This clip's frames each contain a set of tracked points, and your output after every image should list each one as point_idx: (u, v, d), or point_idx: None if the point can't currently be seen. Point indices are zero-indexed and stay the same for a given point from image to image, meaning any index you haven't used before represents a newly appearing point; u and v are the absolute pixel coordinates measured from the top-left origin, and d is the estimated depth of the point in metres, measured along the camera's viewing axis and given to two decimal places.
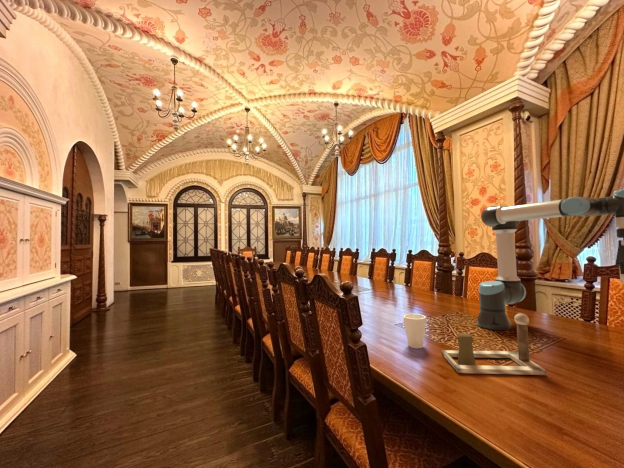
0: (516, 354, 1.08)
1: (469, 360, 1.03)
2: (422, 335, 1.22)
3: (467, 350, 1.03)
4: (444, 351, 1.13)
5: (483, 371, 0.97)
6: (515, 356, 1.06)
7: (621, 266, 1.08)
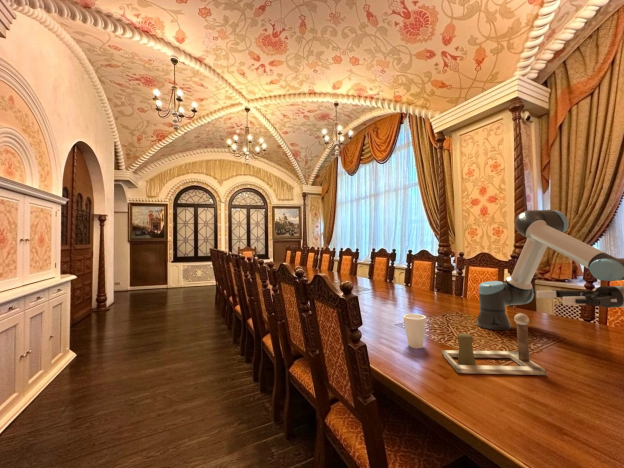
0: (516, 354, 1.08)
1: (469, 360, 1.03)
2: (422, 335, 1.22)
3: (467, 350, 1.03)
4: (444, 351, 1.13)
5: (483, 371, 0.97)
6: (515, 356, 1.06)
7: (588, 300, 0.94)
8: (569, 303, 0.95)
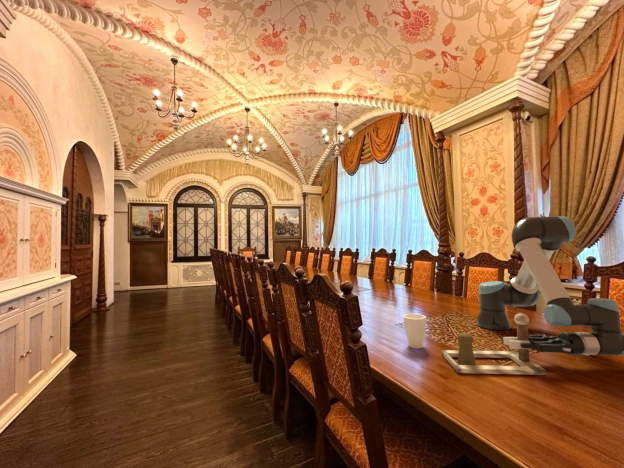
0: (516, 354, 1.08)
1: (469, 360, 1.03)
2: (422, 335, 1.22)
3: (467, 350, 1.03)
4: (444, 351, 1.13)
5: (483, 371, 0.97)
6: (515, 356, 1.06)
7: (531, 345, 1.00)
8: (515, 347, 1.01)
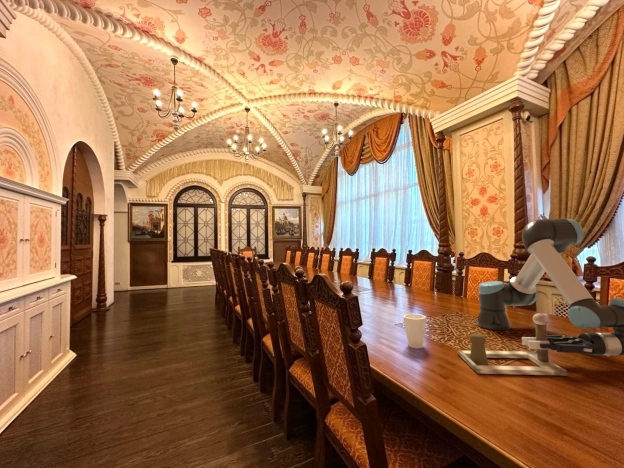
0: (534, 354, 1.07)
1: (481, 360, 1.02)
2: (422, 335, 1.22)
3: (479, 351, 1.03)
4: (461, 351, 1.12)
5: (503, 371, 0.96)
6: (533, 356, 1.05)
7: (551, 345, 0.99)
8: (534, 347, 1.00)
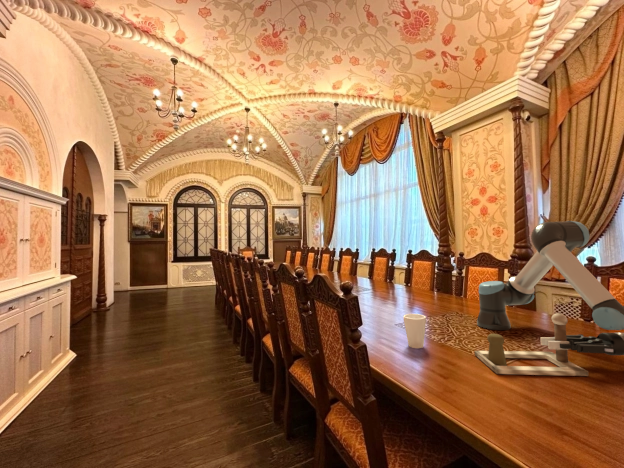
0: (552, 355, 1.06)
1: (500, 361, 1.01)
2: (422, 335, 1.22)
3: (497, 351, 1.02)
4: (477, 351, 1.12)
5: (523, 372, 0.95)
6: (552, 357, 1.05)
7: (571, 346, 0.98)
8: (554, 347, 1.00)
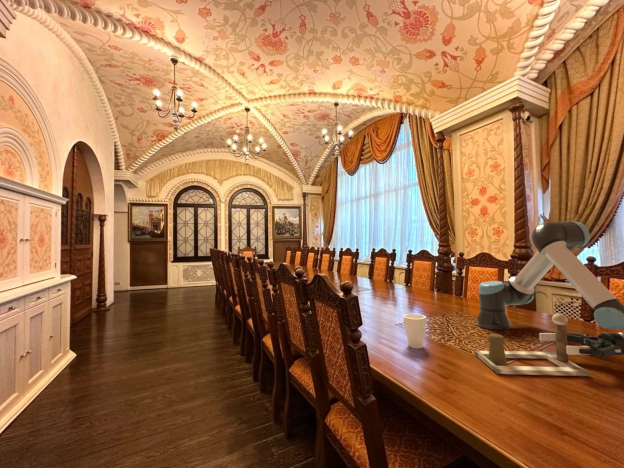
0: (553, 355, 1.06)
1: (501, 361, 1.01)
2: (422, 335, 1.22)
3: (498, 351, 1.02)
4: (478, 351, 1.12)
5: (523, 372, 0.95)
6: (552, 357, 1.05)
7: (592, 351, 0.93)
8: (573, 353, 0.95)
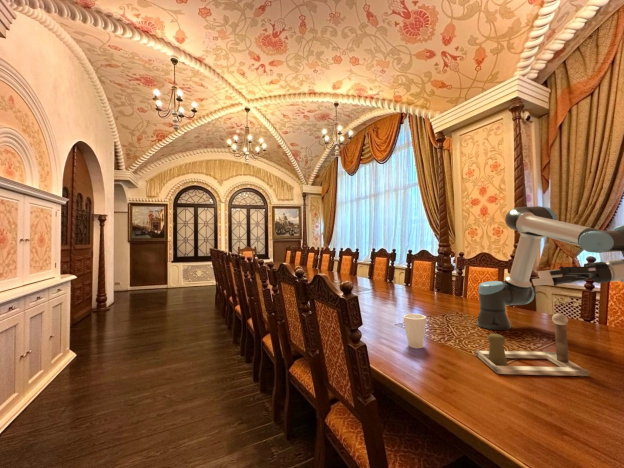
0: (553, 355, 1.06)
1: (501, 361, 1.01)
2: (422, 335, 1.22)
3: (498, 351, 1.02)
4: (478, 351, 1.12)
5: (523, 372, 0.95)
6: (552, 357, 1.05)
7: (560, 271, 1.02)
8: (544, 276, 1.05)
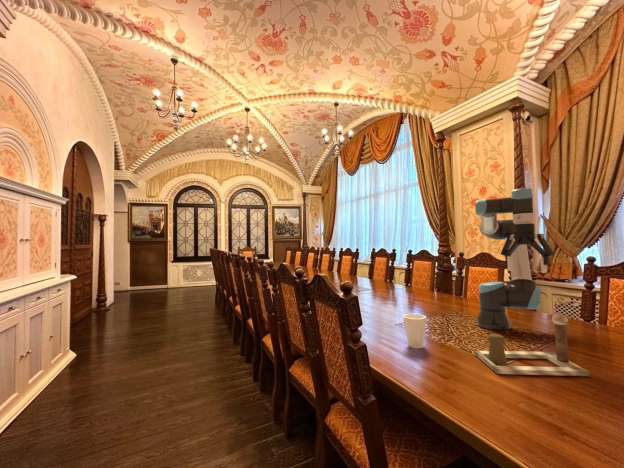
0: (553, 355, 1.06)
1: (501, 361, 1.01)
2: (422, 335, 1.22)
3: (498, 351, 1.02)
4: (478, 351, 1.12)
5: (523, 372, 0.95)
6: (552, 357, 1.05)
7: None
8: None
